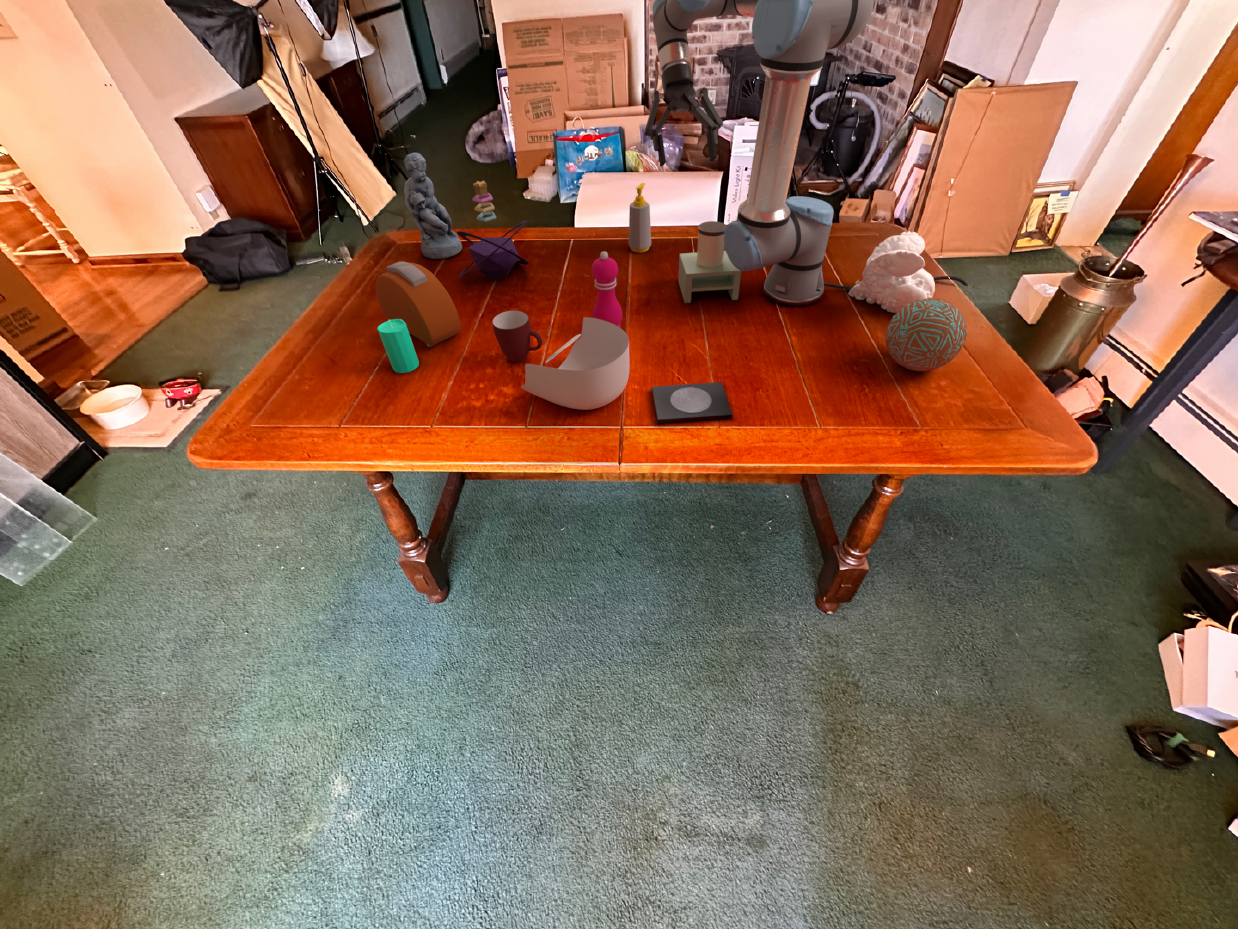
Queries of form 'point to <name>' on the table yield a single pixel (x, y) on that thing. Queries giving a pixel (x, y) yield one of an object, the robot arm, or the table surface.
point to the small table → (707, 276)
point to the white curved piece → (585, 369)
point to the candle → (398, 345)
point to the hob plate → (691, 403)
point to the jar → (710, 244)
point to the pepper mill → (606, 290)
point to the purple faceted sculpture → (491, 242)
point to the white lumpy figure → (895, 274)
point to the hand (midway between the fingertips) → (688, 161)
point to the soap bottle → (639, 223)
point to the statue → (428, 212)
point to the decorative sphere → (926, 334)
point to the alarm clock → (417, 302)
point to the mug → (515, 335)
